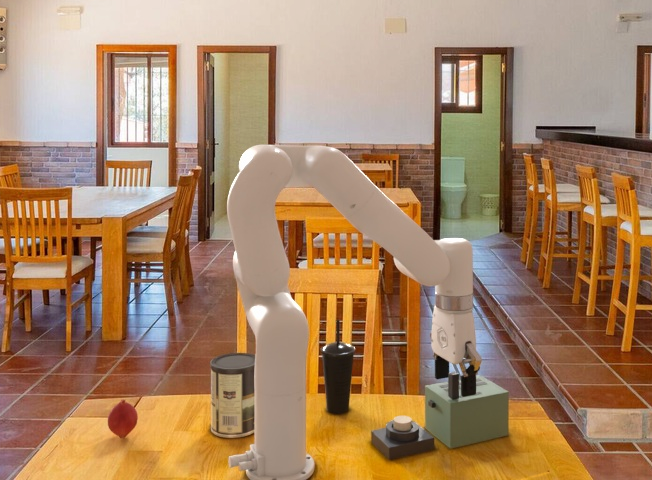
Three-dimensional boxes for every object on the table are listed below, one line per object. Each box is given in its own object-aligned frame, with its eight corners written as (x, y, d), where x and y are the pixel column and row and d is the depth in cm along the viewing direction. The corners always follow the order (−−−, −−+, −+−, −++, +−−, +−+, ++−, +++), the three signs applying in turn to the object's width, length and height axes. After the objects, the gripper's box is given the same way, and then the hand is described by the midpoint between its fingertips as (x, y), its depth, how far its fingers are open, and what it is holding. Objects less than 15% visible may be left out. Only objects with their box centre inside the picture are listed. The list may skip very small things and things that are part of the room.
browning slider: (452, 399, 140) (452, 375, 140) (448, 396, 142) (448, 372, 142) (459, 398, 141) (459, 374, 141) (454, 395, 142) (454, 371, 142)
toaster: (446, 449, 138) (446, 403, 138) (421, 429, 148) (421, 385, 147) (508, 435, 145) (508, 391, 145) (480, 416, 154) (480, 374, 154)
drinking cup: (351, 418, 152) (351, 326, 152) (316, 415, 154) (316, 324, 154) (358, 404, 160) (358, 316, 160) (325, 401, 161) (325, 314, 161)
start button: (398, 433, 138) (398, 424, 138) (390, 426, 141) (390, 417, 141) (414, 430, 139) (414, 421, 139) (406, 422, 142) (406, 414, 142)
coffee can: (253, 413, 155) (253, 349, 155) (265, 433, 145) (265, 365, 145) (206, 421, 151) (206, 355, 151) (214, 442, 142) (214, 372, 141)
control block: (389, 460, 134) (389, 439, 134) (371, 442, 142) (371, 422, 142) (434, 449, 138) (434, 429, 138) (414, 433, 146) (414, 413, 146)
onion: (101, 440, 142) (101, 400, 142) (123, 428, 148) (123, 390, 147) (122, 446, 140) (122, 406, 140) (143, 434, 145) (143, 396, 145)
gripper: (416, 293, 147) (417, 374, 148) (461, 314, 132) (462, 406, 132) (447, 289, 151) (448, 369, 151) (495, 309, 135) (496, 398, 135)
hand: (454, 386), depth 141 cm, fingers open, 9 cm apart
